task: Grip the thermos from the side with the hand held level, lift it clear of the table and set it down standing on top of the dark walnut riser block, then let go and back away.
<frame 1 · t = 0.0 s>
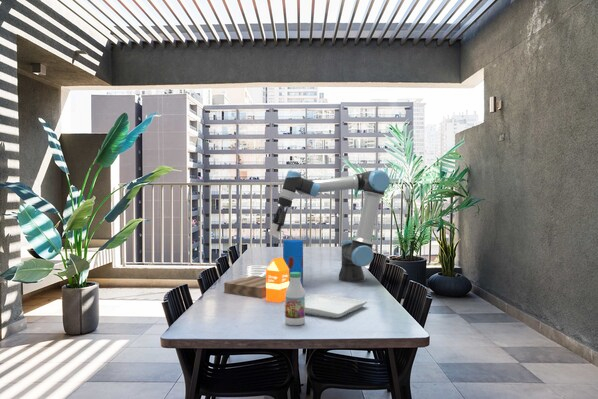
hand: (273, 236, 253), 28 cm above the table, tool tilted 20°, fingers open, 13 cm apart
walnut riser: (257, 291, 246), on the table
thermos: (293, 286, 257), on the table
milk bottle: (295, 323, 186), on the table
square plate: (326, 311, 207), on the table
orange juice: (277, 300, 226), on the table
holder: (254, 275, 293), on the table
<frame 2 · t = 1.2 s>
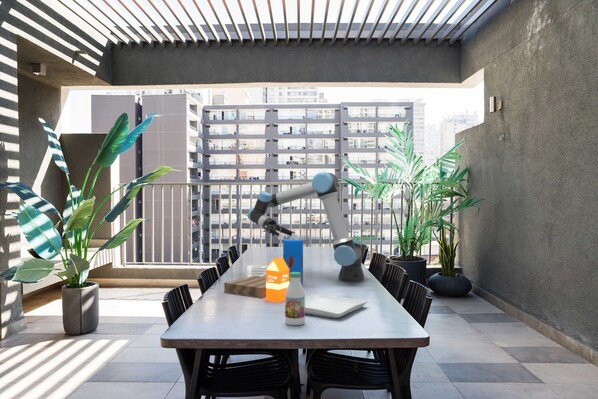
hand: (291, 238, 261), 26 cm above the table, tool tilted 70°, fingers open, 13 cm apart
nothing on the table moved.
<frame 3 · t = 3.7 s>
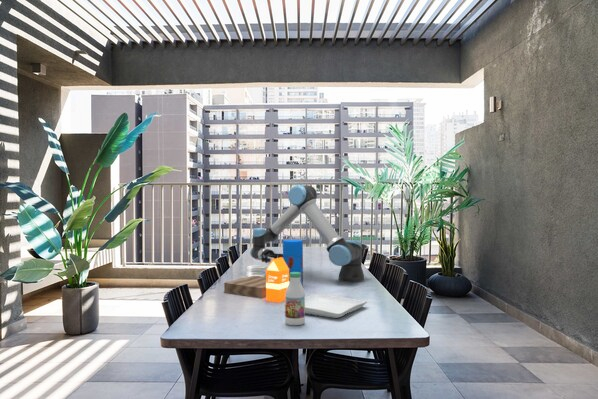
hand: (284, 259, 265), 13 cm above the table, tool horizontal, fingers open, 13 cm apart
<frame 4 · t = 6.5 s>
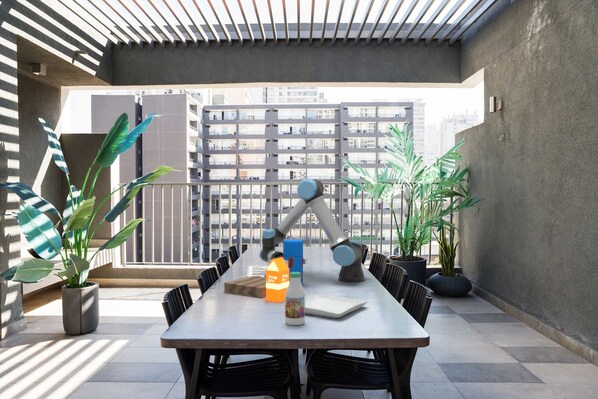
hand: (296, 262, 254), 14 cm above the table, tool horizontal, fingers closed on thermos, 11 cm apart
thermos: (292, 286, 257), on the table, touching gripper
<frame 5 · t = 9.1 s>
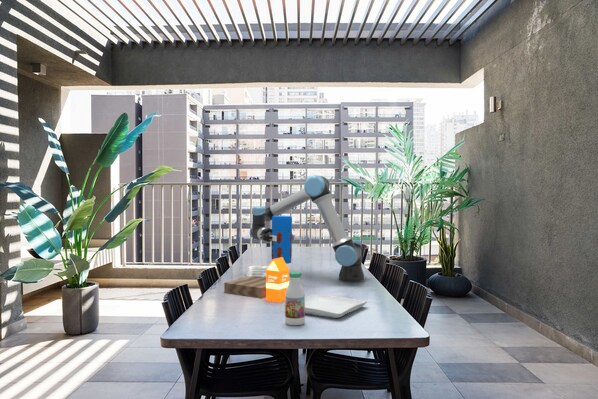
hand: (285, 238, 252), 27 cm above the table, tool horizontal, fingers closed on thermos, 11 cm apart
thermos: (281, 262, 255), point 13 cm above the table, touching gripper
when the fingers open (20 cm above the table, at t = 12.2 s): thermos drops 1 cm, resting on walnut riser.
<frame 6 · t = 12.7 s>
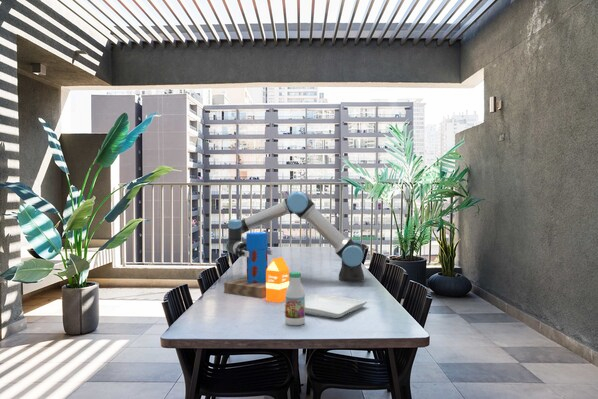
hand: (260, 253, 242), 20 cm above the table, tool horizontal, fingers open, 13 cm apart
thermos: (257, 281, 246), point 5 cm above the table, touching walnut riser
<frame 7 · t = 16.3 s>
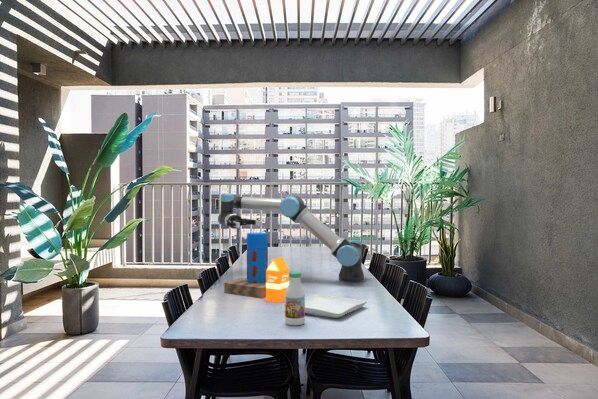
hand: (250, 224, 254), 34 cm above the table, tool horizontal, fingers open, 13 cm apart
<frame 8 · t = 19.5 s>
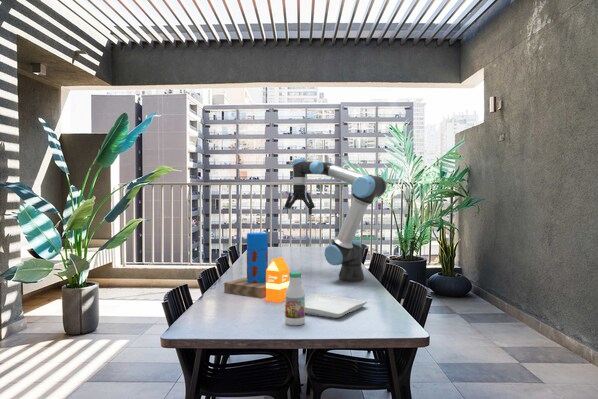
hand: (299, 219, 284), 35 cm above the table, tool pointing down, fingers open, 13 cm apart
at the end: thermos inside the target area on the walnut riser (0.1 cm from its centre), point 4.8 cm above the walnut riser's base; thermos tilted 0°; the gripper is holding nothing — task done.
